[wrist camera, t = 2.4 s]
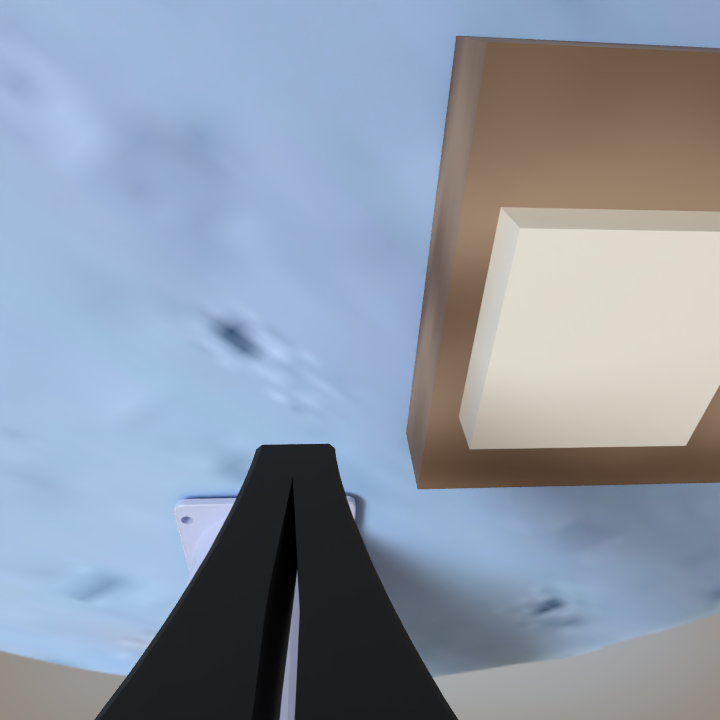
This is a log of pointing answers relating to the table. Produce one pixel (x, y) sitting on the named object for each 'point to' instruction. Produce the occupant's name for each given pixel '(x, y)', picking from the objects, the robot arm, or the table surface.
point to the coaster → (595, 330)
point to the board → (555, 190)
